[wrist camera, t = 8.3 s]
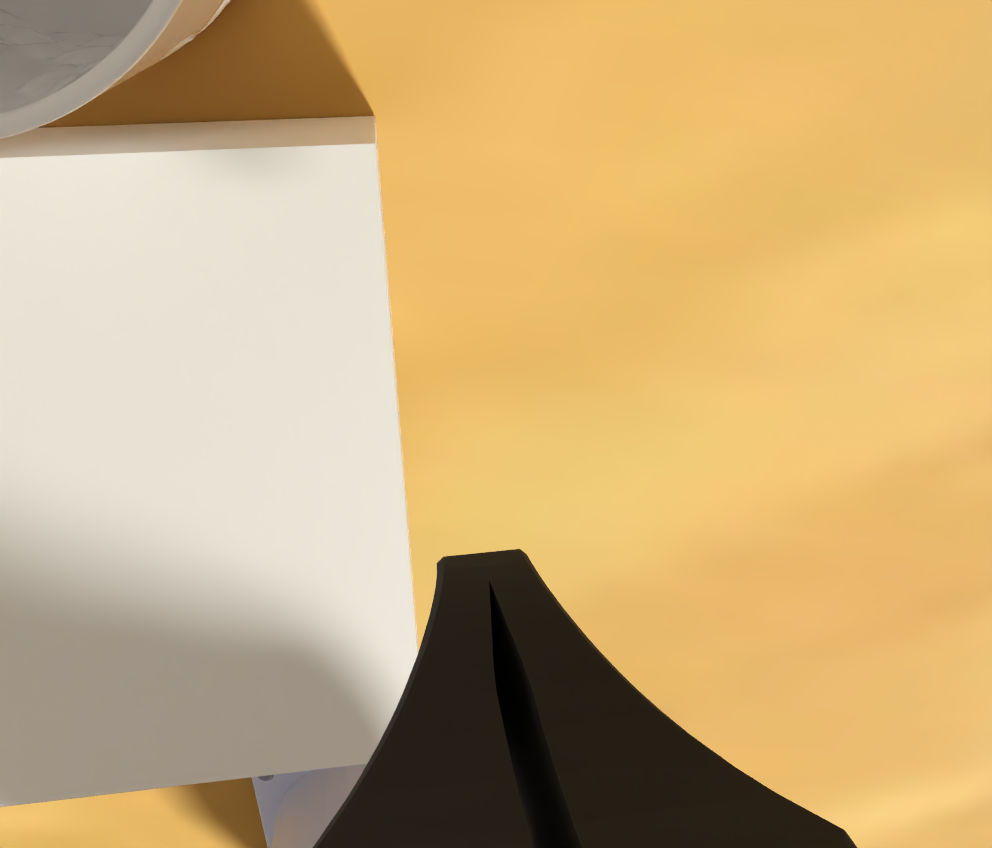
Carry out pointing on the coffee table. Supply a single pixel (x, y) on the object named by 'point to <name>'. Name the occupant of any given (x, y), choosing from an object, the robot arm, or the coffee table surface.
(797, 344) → the coffee table surface
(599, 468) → the coffee table surface
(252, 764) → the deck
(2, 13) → the white cup
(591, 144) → the coffee table surface
